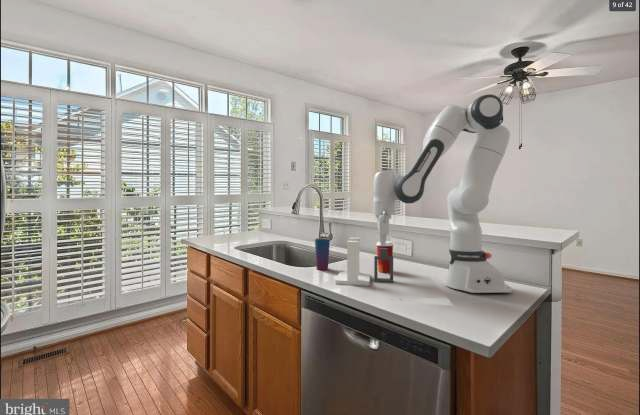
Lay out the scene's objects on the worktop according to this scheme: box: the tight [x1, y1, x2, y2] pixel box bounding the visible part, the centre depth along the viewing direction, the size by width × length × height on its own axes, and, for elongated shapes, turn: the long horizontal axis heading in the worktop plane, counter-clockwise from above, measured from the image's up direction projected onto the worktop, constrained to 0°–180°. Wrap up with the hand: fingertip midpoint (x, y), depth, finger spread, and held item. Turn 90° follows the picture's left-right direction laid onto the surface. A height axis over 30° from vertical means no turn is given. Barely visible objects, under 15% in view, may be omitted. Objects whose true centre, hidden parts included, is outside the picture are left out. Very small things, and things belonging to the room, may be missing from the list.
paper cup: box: [376, 240, 394, 274], centre depth 147 cm, size 8×8×14 cm
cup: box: [314, 237, 331, 272], centre depth 149 cm, size 7×7×15 cm
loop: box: [373, 248, 394, 284], centre depth 131 cm, size 7×4×13 cm, turn 81°
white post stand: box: [335, 237, 371, 286], centre depth 133 cm, size 13×16×16 cm
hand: (382, 244), depth 131 cm, fingers open, 8 cm apart
